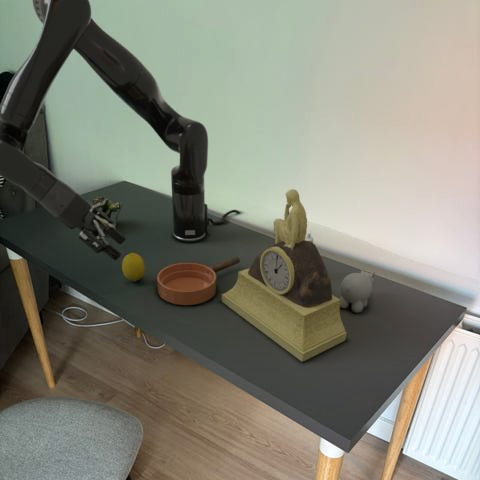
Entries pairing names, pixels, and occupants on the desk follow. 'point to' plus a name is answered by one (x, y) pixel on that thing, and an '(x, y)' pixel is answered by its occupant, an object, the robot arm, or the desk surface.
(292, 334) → the decorative clock
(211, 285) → the pan
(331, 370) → the desk surface
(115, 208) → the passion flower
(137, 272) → the lemon
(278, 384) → the desk surface
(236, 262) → the pan handle
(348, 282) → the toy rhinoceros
